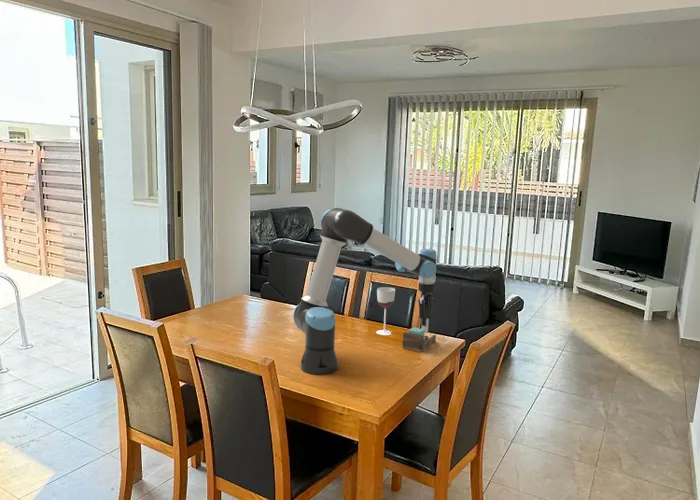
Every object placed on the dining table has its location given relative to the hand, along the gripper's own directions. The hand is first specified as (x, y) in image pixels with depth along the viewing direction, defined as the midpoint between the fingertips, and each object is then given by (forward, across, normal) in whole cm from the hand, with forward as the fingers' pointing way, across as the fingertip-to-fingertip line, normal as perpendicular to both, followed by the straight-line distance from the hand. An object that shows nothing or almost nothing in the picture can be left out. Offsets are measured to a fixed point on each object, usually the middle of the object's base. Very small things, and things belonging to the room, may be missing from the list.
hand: (424, 331), depth 239 cm
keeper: (+4, -9, 0) cm, 9 cm away
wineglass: (+6, +2, +22) cm, 23 cm away
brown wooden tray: (+5, -5, 0) cm, 7 cm away
